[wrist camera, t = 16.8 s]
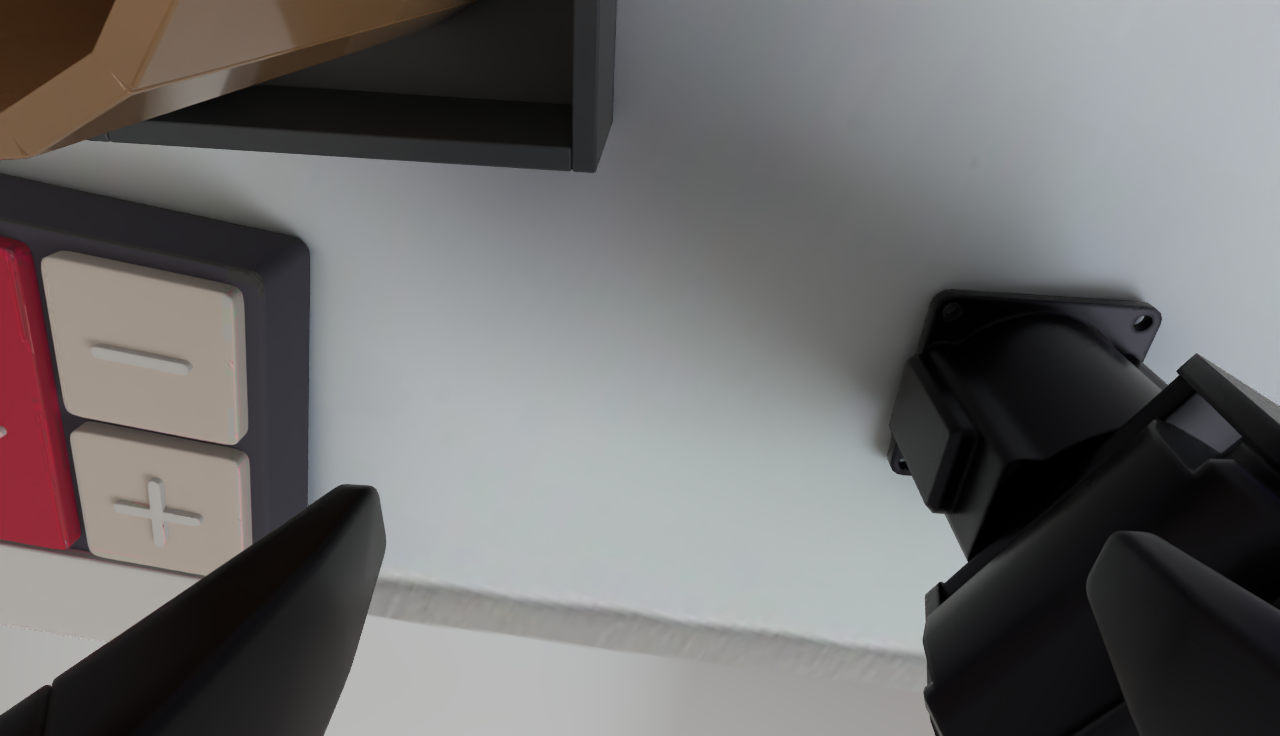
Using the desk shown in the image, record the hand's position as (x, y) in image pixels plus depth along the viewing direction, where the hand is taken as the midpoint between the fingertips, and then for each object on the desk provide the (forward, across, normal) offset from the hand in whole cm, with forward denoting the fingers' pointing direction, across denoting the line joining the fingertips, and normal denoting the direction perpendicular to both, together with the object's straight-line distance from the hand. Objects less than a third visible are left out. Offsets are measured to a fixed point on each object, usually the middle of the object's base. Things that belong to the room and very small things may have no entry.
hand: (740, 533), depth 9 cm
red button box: (+13, +18, +8) cm, 24 cm away
